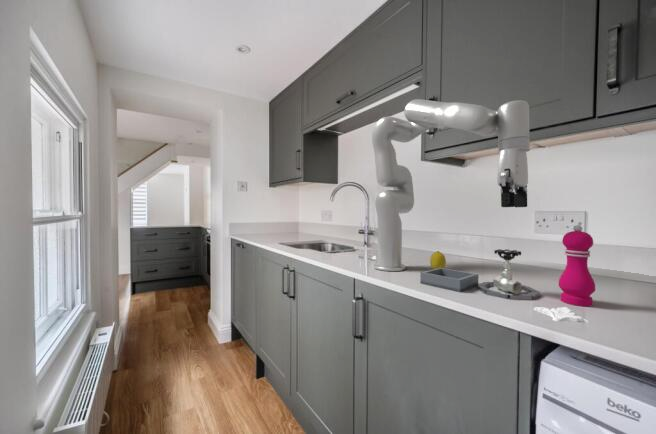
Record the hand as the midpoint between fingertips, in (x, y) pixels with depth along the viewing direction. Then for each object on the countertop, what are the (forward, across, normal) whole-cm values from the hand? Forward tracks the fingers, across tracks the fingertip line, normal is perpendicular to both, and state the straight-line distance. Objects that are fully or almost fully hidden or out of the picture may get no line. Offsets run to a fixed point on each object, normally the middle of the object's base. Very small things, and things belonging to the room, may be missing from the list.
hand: (514, 207), depth 83 cm
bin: (+24, +5, -17) cm, 30 cm away
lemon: (+24, -9, -29) cm, 39 cm away
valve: (+25, 0, -2) cm, 25 cm away
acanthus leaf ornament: (+26, +12, +13) cm, 31 cm away
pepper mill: (+25, -3, +13) cm, 28 cm away
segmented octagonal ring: (+25, 0, -2) cm, 25 cm away
